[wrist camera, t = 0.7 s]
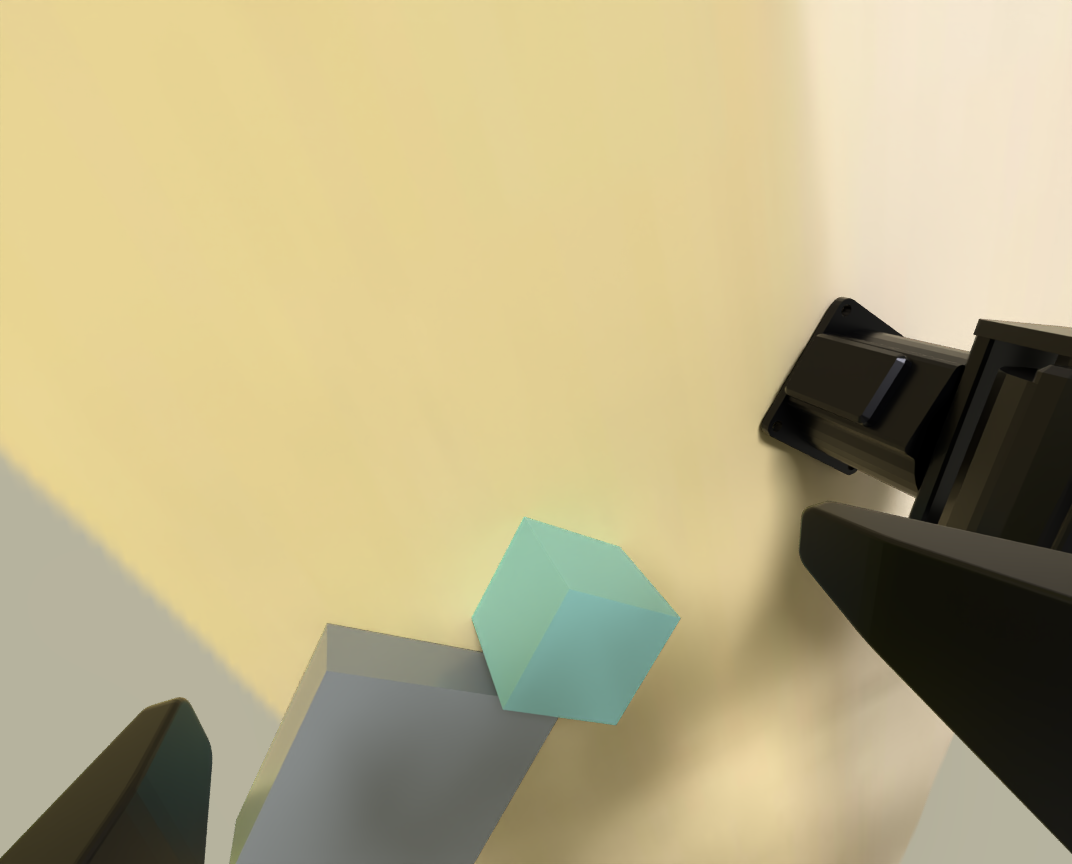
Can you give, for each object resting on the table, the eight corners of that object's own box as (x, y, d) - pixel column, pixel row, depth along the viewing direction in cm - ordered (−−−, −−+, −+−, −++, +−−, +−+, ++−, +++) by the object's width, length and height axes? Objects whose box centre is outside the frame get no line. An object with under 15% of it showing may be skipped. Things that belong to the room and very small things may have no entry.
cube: (619, 546, 25) (680, 618, 20) (567, 637, 26) (616, 724, 21) (523, 515, 23) (569, 588, 18) (471, 616, 24) (502, 709, 19)
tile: (544, 663, 26) (564, 706, 24) (453, 827, 28) (464, 880, 25) (327, 623, 21) (326, 670, 19) (236, 820, 23) (226, 883, 21)
